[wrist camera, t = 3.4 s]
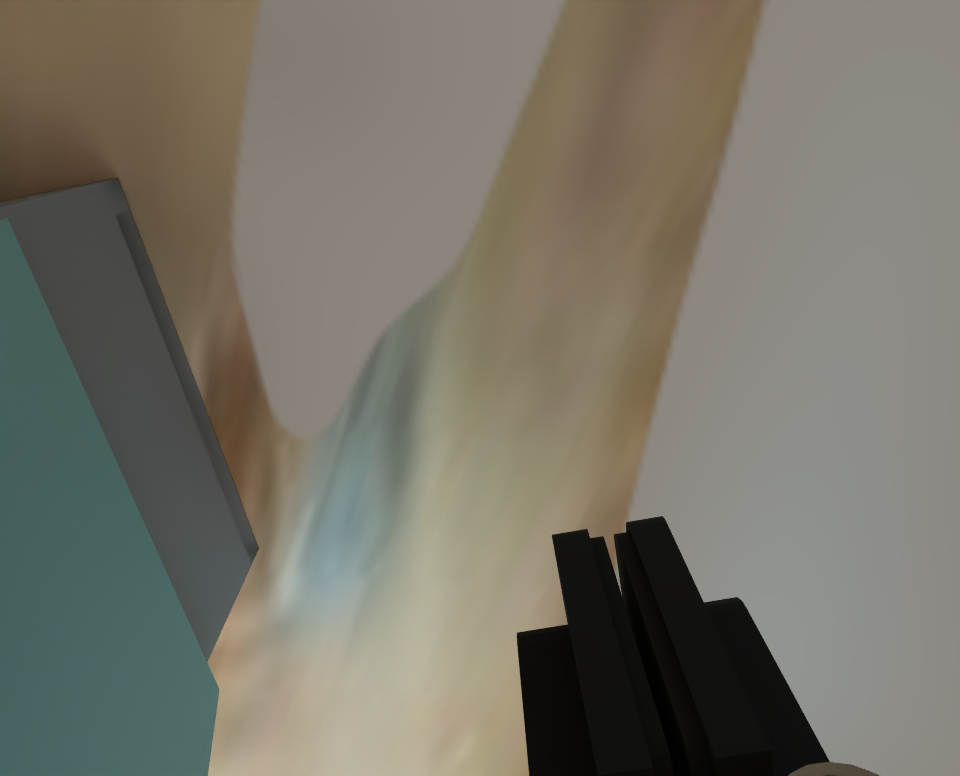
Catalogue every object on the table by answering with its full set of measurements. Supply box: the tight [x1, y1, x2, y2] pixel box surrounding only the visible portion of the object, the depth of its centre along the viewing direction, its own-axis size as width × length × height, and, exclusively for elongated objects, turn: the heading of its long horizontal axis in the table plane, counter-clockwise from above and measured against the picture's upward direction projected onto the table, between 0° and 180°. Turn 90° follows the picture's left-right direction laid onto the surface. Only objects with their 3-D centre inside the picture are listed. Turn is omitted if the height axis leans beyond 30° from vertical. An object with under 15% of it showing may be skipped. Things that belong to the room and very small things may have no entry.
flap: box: [0, 218, 219, 776], centre depth 13 cm, size 14×10×1 cm
